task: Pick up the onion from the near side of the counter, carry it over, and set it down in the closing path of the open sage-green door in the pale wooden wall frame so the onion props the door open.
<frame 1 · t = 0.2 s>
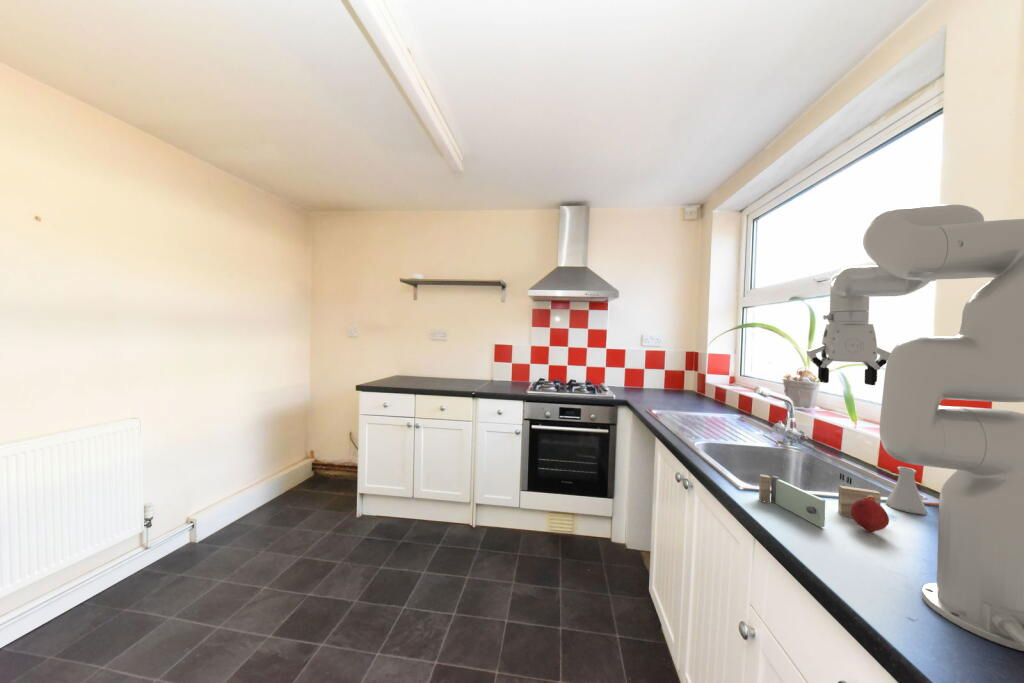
hand: (846, 383, 94), 31 cm above the worktop, tool pointing down, fingers open, 9 cm apart
door: (794, 499, 85), point 3 cm above the worktop, hinge at 60.0°
door frame: (816, 509, 87), on the worktop
flask: (905, 509, 89), on the worktop
onion: (868, 532, 77), on the worktop
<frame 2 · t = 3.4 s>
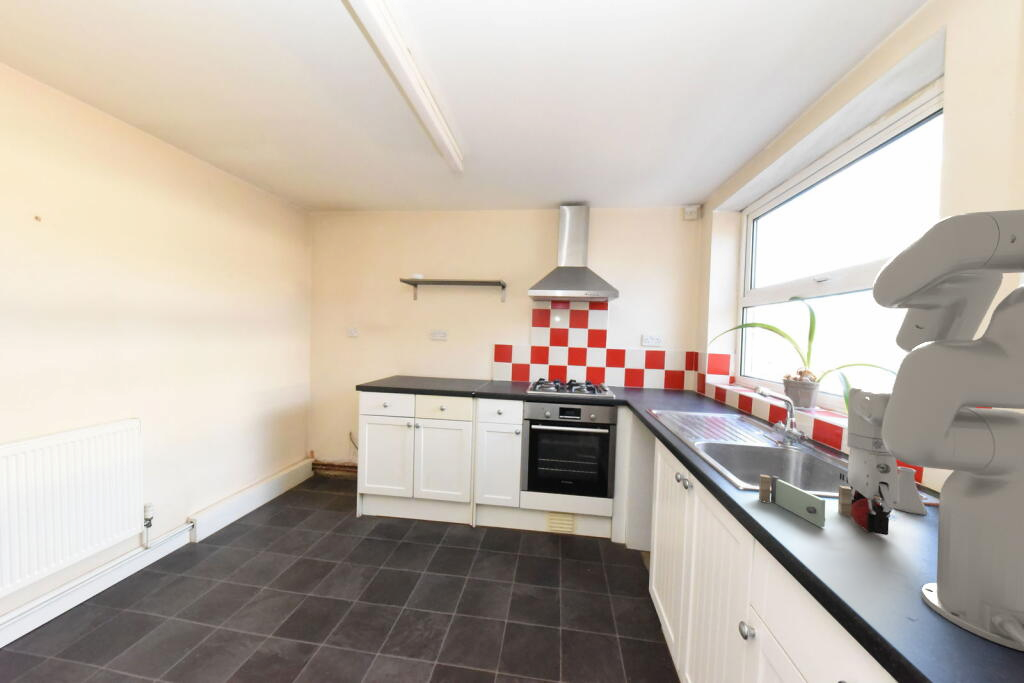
hand: (868, 524, 77), 2 cm above the worktop, tool pointing down, fingers closed on onion, 5 cm apart
onion: (868, 532, 77), on the worktop, touching gripper
everything else where it was.
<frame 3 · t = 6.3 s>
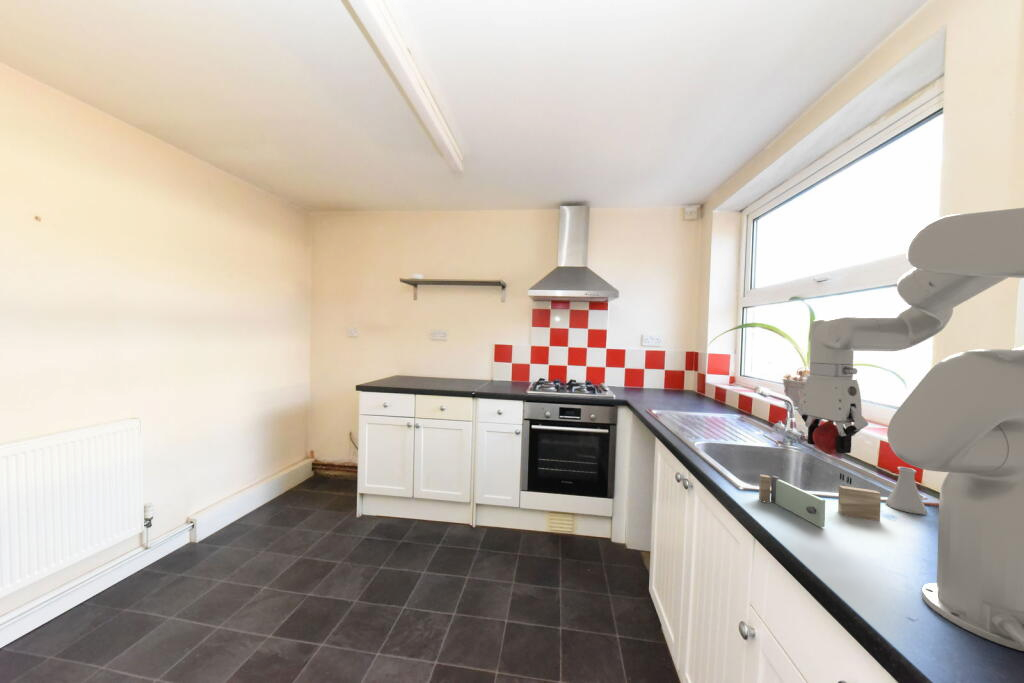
hand: (828, 447, 82), 17 cm above the worktop, tool pointing down, fingers closed on onion, 5 cm apart
onion: (828, 455, 82), point 15 cm above the worktop, touching gripper
everything else where it was.
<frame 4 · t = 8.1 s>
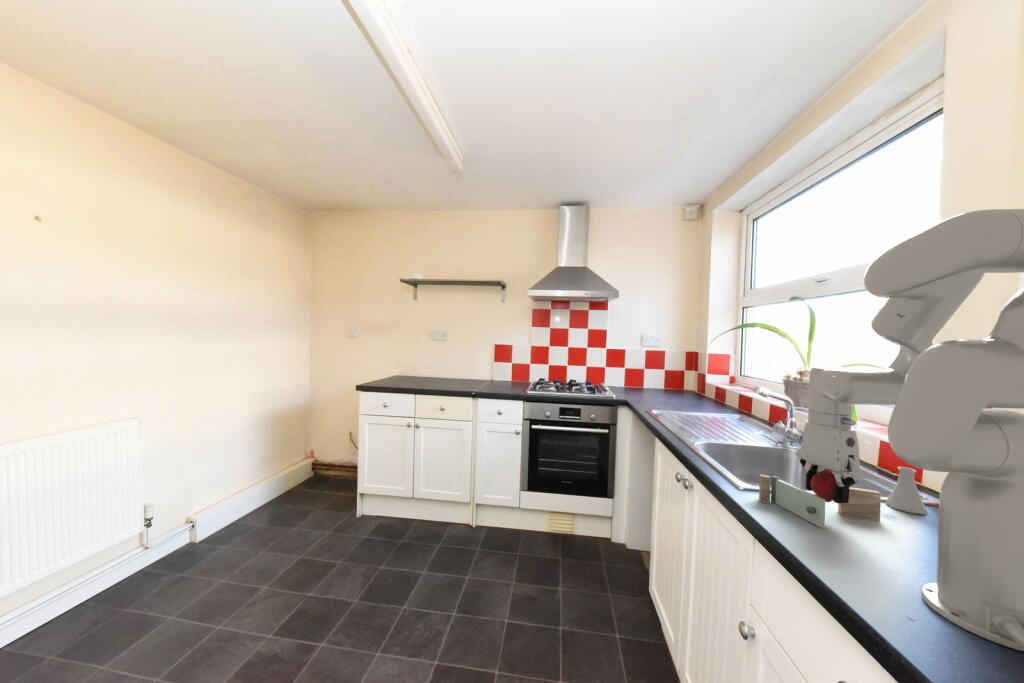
hand: (826, 495, 83), 5 cm above the worktop, tool pointing down, fingers closed on onion, 5 cm apart
onion: (826, 502, 83), point 4 cm above the worktop, touching gripper
everything else where it was.
when the fingers open (3 cm above the worktop, at t = 9.5 s): onion drops 2 cm, on the worktop.
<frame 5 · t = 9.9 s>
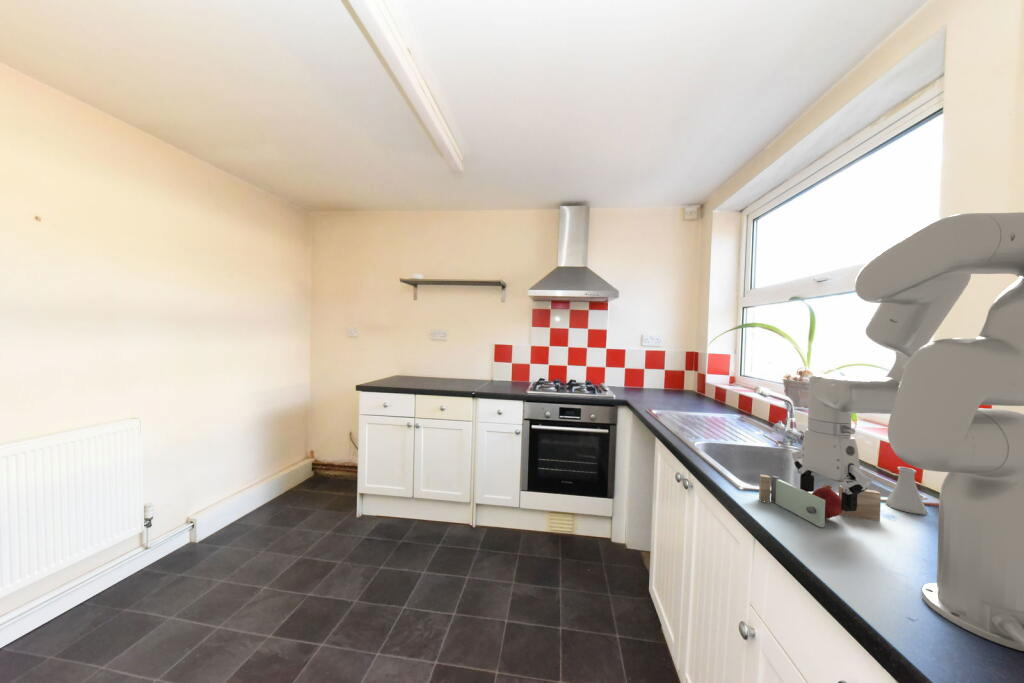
hand: (826, 500, 83), 4 cm above the worktop, tool pointing down, fingers open, 9 cm apart
onion: (825, 519, 83), on the worktop
everything else where it was.
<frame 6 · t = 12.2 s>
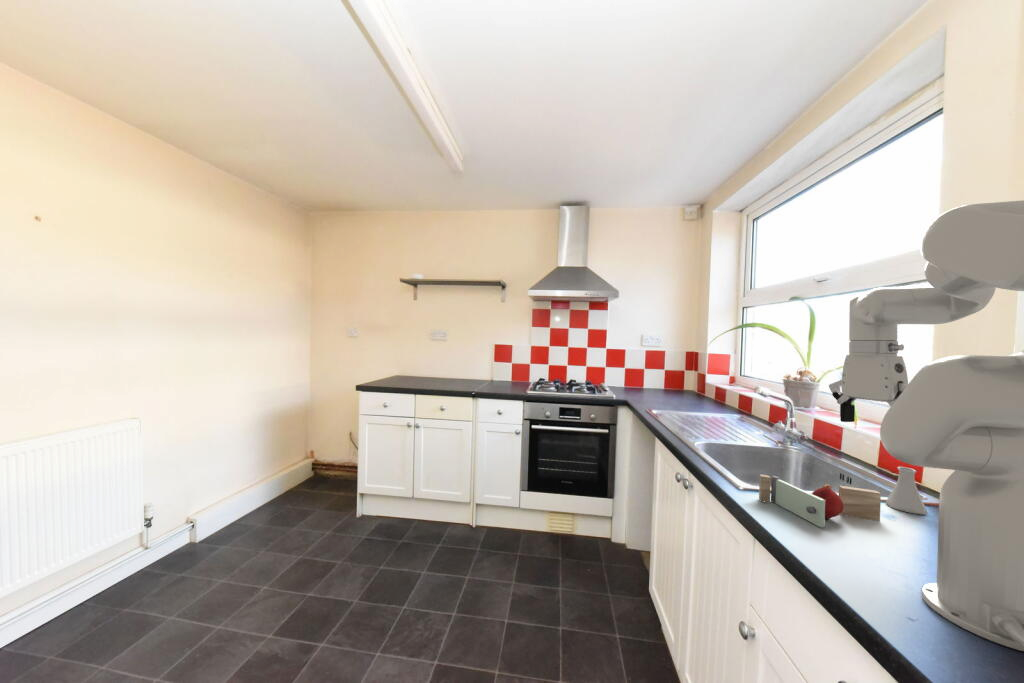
hand: (871, 426, 78), 23 cm above the worktop, tool pointing down, fingers open, 9 cm apart
nothing on the worktop moved.
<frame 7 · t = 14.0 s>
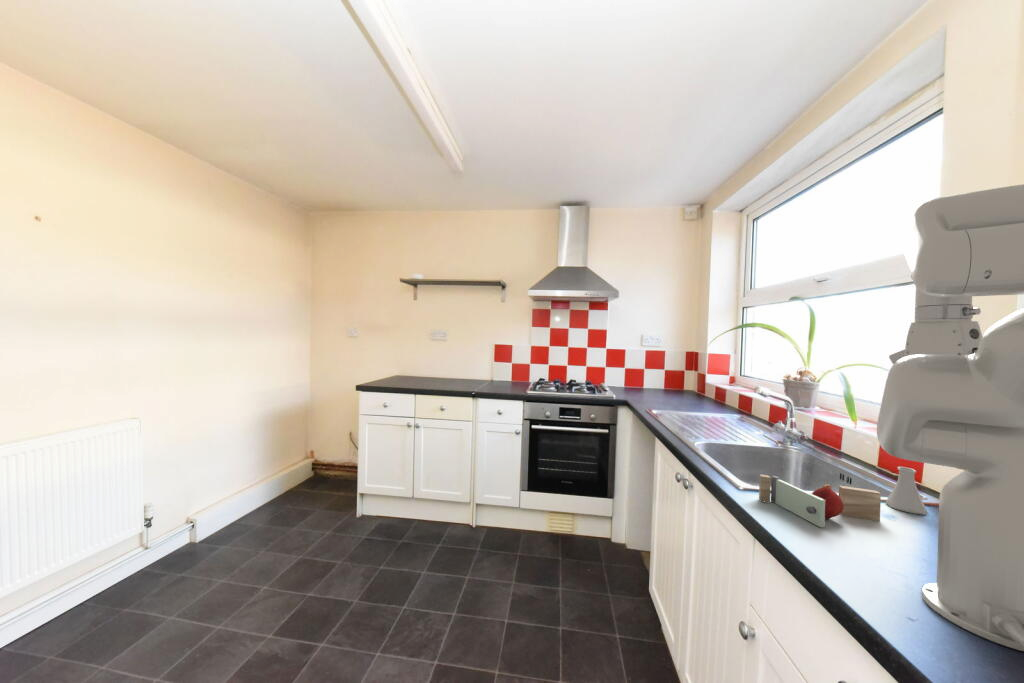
hand: (939, 397, 73), 30 cm above the worktop, tool pointing down, fingers open, 9 cm apart
nothing on the worktop moved.
at the end: onion 0.1 cm from the target spot, on the worktop; door at +60° (first picture: +60°); onion touching worktop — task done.
